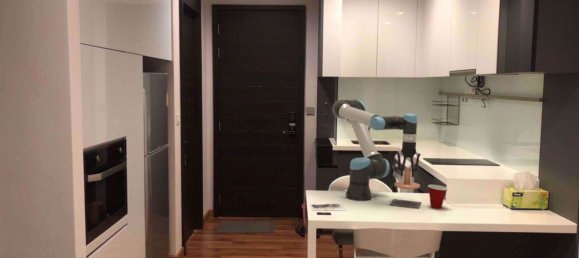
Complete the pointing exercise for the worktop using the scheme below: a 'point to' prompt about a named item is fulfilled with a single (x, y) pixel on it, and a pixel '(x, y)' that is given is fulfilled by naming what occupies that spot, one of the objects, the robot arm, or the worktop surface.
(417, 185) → the lid
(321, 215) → the worktop surface
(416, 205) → the mat
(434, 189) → the plastic cup
